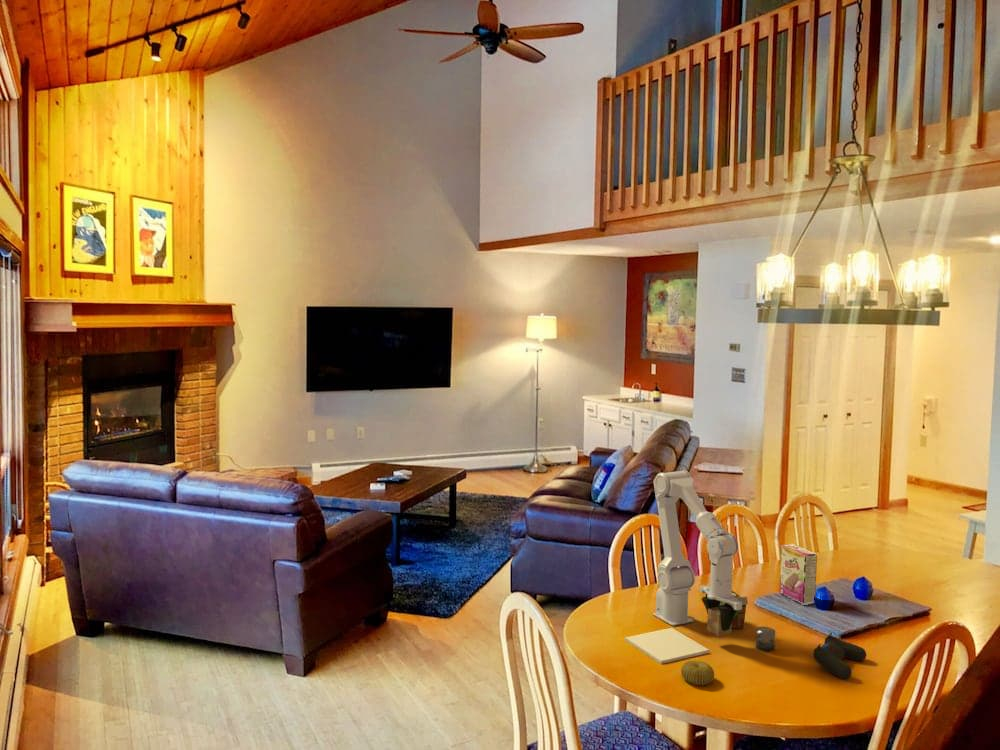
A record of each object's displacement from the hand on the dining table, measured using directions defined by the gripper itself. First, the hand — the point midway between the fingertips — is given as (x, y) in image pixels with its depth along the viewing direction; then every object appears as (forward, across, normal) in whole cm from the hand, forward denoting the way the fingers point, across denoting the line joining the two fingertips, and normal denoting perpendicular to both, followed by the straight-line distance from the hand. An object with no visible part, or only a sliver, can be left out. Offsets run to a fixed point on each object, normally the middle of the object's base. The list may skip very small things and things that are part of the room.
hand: (719, 626), depth 217 cm
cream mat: (+5, -5, -14) cm, 16 cm away
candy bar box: (+5, -16, +46) cm, 49 cm away
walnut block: (+2, 0, 0) cm, 2 cm away
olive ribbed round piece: (+5, +14, -19) cm, 24 cm away
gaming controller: (+5, +23, +20) cm, 31 cm away
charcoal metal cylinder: (+5, +7, +10) cm, 13 cm away
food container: (+5, -10, +11) cm, 16 cm away
